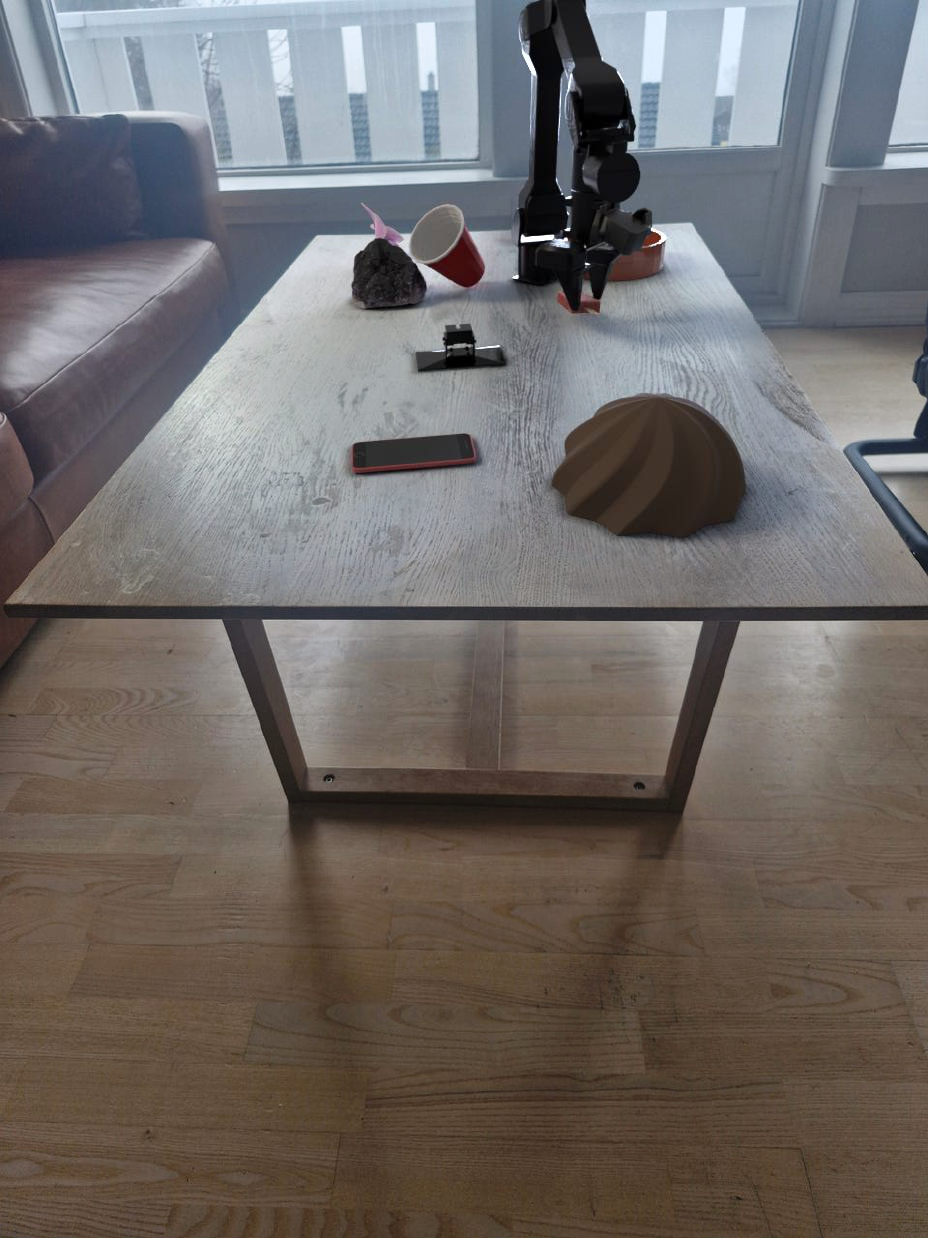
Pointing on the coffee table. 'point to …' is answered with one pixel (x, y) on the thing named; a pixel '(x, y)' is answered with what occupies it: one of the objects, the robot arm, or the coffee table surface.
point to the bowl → (639, 260)
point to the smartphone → (412, 453)
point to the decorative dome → (651, 467)
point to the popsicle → (581, 304)
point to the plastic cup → (447, 246)
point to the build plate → (459, 352)
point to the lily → (384, 229)
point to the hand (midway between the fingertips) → (586, 305)
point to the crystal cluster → (386, 276)
